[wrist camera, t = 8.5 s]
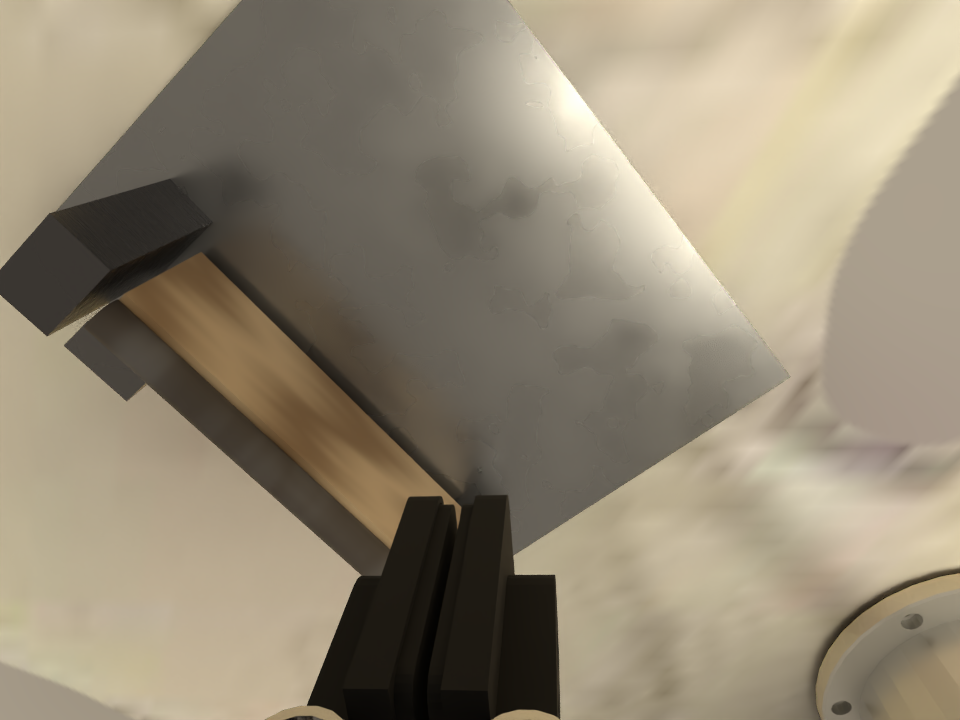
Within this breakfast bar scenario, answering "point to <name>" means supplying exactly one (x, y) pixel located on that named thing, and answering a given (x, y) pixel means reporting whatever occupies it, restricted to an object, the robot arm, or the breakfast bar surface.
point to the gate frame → (418, 246)
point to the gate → (266, 407)
